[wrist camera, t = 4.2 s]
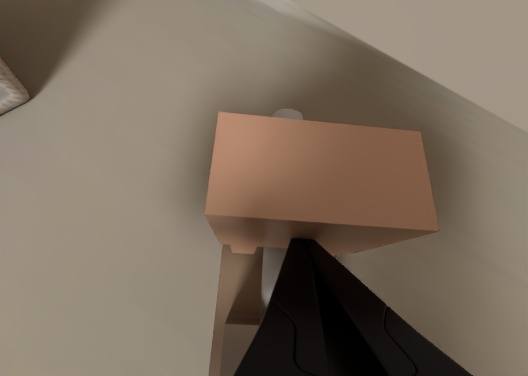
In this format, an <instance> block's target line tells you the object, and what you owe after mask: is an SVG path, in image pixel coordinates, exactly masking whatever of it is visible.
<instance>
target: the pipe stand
mask: <svg viewBox="0 0 528 376" xmlns="http://www.w3.org/2000/svg"><path fill="white" fill-rule="evenodd" d="M271 117H278V118H288V119H298V120H303V115H302V114H301V113H300V112H299V111H297V110H294V109H288V108H287V109H280V110H277V111H275V112H274V113H273V114H272V115H271ZM286 251H287V248H273V247H258V246H257V248H256V250H255V252H254V254H243V253H232V250H231V247H230V245H227V244H223V249H222V258H221V267H220V276H219V285H218V295H217V304H216V313H215V322H214V331H213V341H212V350H211V359H210V368H209V376H233V375H234V373H235V371H236V369H237V367H238V365H239V364H240V362H241V360H242V358H243V356H244V354H245V353H246V351H247V349H248V347H249V345H250V343H251V342H252V340H253V338H254V336H255V334H256V332H257V330H258V328H259V326H260V323H261V321H262V318H263V316H264V313H265V311H266V308H267V305H268V302H269V301H270V297H271V294H272V291H273V288H274V285H275V283H276V280H277V277H278V274H279V271H280V268H281V265H282V262H283V259H284V257H285V254H286Z"/></svg>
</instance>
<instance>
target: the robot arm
mask: <svg viewBox="0 0 528 376" xmlns="http://www.w3.org/2000/svg"><path fill="white" fill-rule="evenodd" d="M233 376H473V375H471V374H470V373H469V372H468V371H466V370H465V369H464V368H462V367H461V366H460V365H459V364H457V363H456V362H455V361H454V360H452V359H451V358H450V357H448V356H447V355H446V354H445V353H443V352H442V351H441V350H440V349H438V348H437V347H436V346H435V345H433V344H432V343H431V342H430V341H428V340H427V339H426V338H425V337H423V336H422V335H421V334H420V333H418V332H417V331H416V330H415V329H414V328H413V327H411V326H410V325H409V324H408V323H407V322H406V321H404V320H403V319H402V318H401V317H400V316H399V315H398V314H397V313H395V312H394V311H393V310H392V309H391V308H390V307H387V305H386V304H385V303H384V302H383V301H382V300H381V299H380V298H379V297H378V296H376V295H375V294H374V293H373V292H372V291H371V290H370V289H369V288H368V287H366V286H365V285H364V284H363V283H362V282H361V281H360V280H359V279H358V278H356V277H355V276H354V275H353V274H352V273H351V272H350V271H349V270H348V269H346V268H345V267H344V266H343V265H342V264H341V263H340V262H339V261H338V260H336V259H335V258H334V257H333V256H332V255H331V254H330V253H329V252H328V251H326V250H325V249H324V248H323V247H322V246H321V245H320V244H319V243H318V242H317V241H315V240H313V239H303V240H302V239H299V238H291V239H290V242H289V245H288V248H287V251H286V254H285V257H284V259H283V262H282V265H281V268H280V271H279V274H278V277H277V280H276V283H275V285H274V288H273V291H272V294H271V297H270V301H269V302H268V305H267V308H266V311H265V313H264V316H263V318H262V321H261V323H260V326H259V328H258V330H257V332H256V334H255V336H254V338H253V340H252V342H251V343H250V345H249V347H248V349H247V351H246V353H245V354H244V356H243V358H242V360H241V362H240V364H239V365H238V367H237V369H236V371H235V373H234V375H233Z"/></svg>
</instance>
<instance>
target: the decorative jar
mask: <svg viewBox="0 0 528 376" xmlns="http://www.w3.org/2000/svg"><path fill="white" fill-rule="evenodd" d="M29 98H30V96H29V93H28V91H27V90H26V89H25V87H24V86H23V85H22V83H21V82H20V81H19V80H18V79H17V77H16V76H15V75H14V74H13V73H12V71H11V70H10V69H9V67H8V66H7V65H6V63H5V62H4V61H3V60H2V59H1V58H0V115H1V114H3V113H5V112H7V111H9V110H11V109H13V108H15V107H17V106H19V105H21V104H23V103H25V102H26V101H28V100H29Z"/></svg>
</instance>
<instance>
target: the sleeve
mask: <svg viewBox="0 0 528 376" xmlns="http://www.w3.org/2000/svg"><path fill="white" fill-rule="evenodd" d="M204 214H205V216H206V218H207V220H208V222H209V224H210V226H211V227H212V229H213V231H214V233H215V235H216V237H217V238H218V240H219V242H220V244H227V245H230V247H231V250H232V253H243V254H254V252H255V250H256V248H257V246H258V247H273V248H288V245H289V242H290V239H291V238H299V239H302V240H303V239H313V240H315V241H317V242H318V243H319V244H320V245H321V246H322V247H323V248H324V249H325V250H326V251H328V252H329V253H330V254H331V255H332V256H335V255H338V254H342V253H345V252H349V253H356V252H360V251H364V250H368V249H372V248H376V247H380V246H384V245H387V244H391V243H395V242H399V241H403V240H407V239H411V238H415V237H419V236H423V235H426V234H430V233H434V232H438V231H440V230H439V225H438V220H437V215H436V209H435V204H434V199H433V194H432V189H431V184H430V178H429V173H428V168H427V163H426V158H425V152H424V147H423V142H422V137H421V132H420V131H411V130H401V129H391V128H380V127H370V126H360V125H350V124H339V123H329V122H319V121H308V120H298V119H288V118H278V117H267V116H257V115H247V114H236V113H226V112H219V113H218V120H217V127H216V134H215V142H214V149H213V156H212V163H211V170H210V177H209V184H208V191H207V199H206V206H205V213H204Z"/></svg>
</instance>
